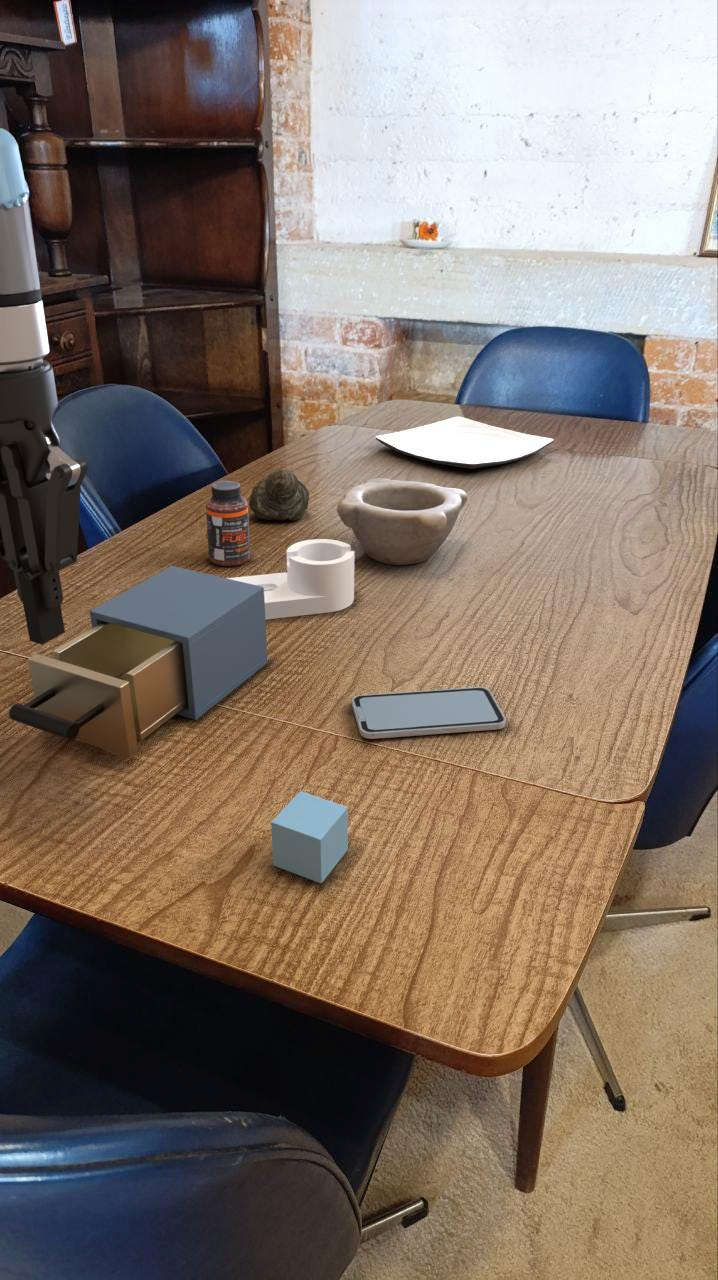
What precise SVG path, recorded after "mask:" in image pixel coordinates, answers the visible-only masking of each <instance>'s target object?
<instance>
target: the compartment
mask: <svg viewBox="0 0 718 1280" xmlns="http://www.w3.org/2000/svg"><path fill="white" fill-rule="evenodd" d="M227 578H228V577H223V576H218V575H213V574H209V573H205V572H201V571H196V570H191V569H187V568H183V567H179V566H175V565H171V566H169V567H167V568H165V569H164V570H161V571H159V572H158V573H156V574H154V575H152V576H151V577H149V578H147V579H145V580H143V581H142V582H139V583H137V584H136V585H134V586H132V587H131V588H129V589H127V590H125V591H124V592H122V593H120V594H118V595H117V596H114V597H112V598H111V599H109V600H107V601H105V602H104V603H102V604H100V605H98V606H96V607H94V608H93V609H91V610H90V611H89V617H90V623H91V629H92V628H94V627H95V626H97V625H99V624H100V623H102V622H104V621H105V622H108V623H112V624H115V625H119V626H123V627H126V628H130V629H134V630H137V631H141V632H145V633H148V634H152V635H156V636H159V637H163V638H166V639H170V640H174V641H177V642H181V643H183V653H184V663H185V674H186V684H187V694H188V705H187V706H186V707H184V708H183V709H182V710H180V711H179V712H178V713H176V714H175V715H178V716H181V717H185V718H188V719H191V720H193V721H197V720H198V719H199V718H201V717H202V716H203V715H205V714H206V713H207V712H208V711H210V710H211V709H212V708H213V707H214V706H216V705H217V704H218V703H220V702H221V701H222V700H223V699H225V698H226V697H227V696H228V695H230V694H231V693H232V692H234V691H235V690H236V689H237V688H238V687H240V686H241V685H242V684H243V683H244V682H246V681H247V680H248V679H249V678H251V677H252V676H253V675H255V674H256V673H257V672H259V670H261V669H262V668H263V667H264V666H266V665H267V664H268V645H267V644H268V643H267V626H266V625H267V623H266V620H265V601H264V587H261V586H257V585H253V584H248V583H244V582H240V581H236V580H231V579H227Z"/></svg>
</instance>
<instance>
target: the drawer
mask: <svg viewBox="0 0 718 1280" xmlns="http://www.w3.org/2000/svg"><path fill="white" fill-rule="evenodd" d="M52 655H53V657H49V656H46V655H43V654H39V653H35V654H33V655H32V656H29V657H28V658H27V663H28V668H29V673H30V679H31V683H32V689H33V694H34V698H32V699H31V700H29V701H28V702H27V703H25V704H22V703H18V702H17V703H14V704H13V705H12V706H11V707H10V708H9V711H8V717H9V719H10V720H11V721H14V722H17V723H20V724H23V725H25V726H29V727H32V728H34V729H36V730H39V731H43V732H45V733H48V734H50V735H54V736H57V737H59V738H63V739H65V740H68V741H74V740H77V741H80V742H83V743H85V744H88V745H92V746H94V747H98V748H100V749H103V750H106V751H109V752H110V753H114V754H117V755H120V756H123V757H125V758H128V759H131V758H133V757H134V756H135V755H137V754H138V753H139V747H138V740H139V741H143V740H144V739H145V738H146V737H148V736H149V735H150V734H152V733H153V732H154V731H156V730H157V729H158V728H160V727H161V726H162V725H164V724H165V723H166V722H167V721H169V720H170V719H171V718H173V717H174V716H175V715H177V714H176V713H178V712H179V711H180V710H182V709H183V708H184V707H186V706H187V705H188V694H187V684H186V674H185V663H184V653H183V643H181V642H177V641H174V640H170V639H166V638H163V637H159V636H156V635H152V634H148V633H145V632H141V631H137V630H134V629H130V628H126V627H123V626H119V625H115V624H112V623H108V622H105V621H104V622H102V623H100V624H99V625H97V626H95V627H94V628H92V627H91V628H89V629H88V630H86V631H85V632H83V633H82V634H80V635H78V636H76V637H75V638H73V639H71V640H69V641H68V642H66V643H64V644H62V645H60V646H59V647H57V648H55V649H53V650H52Z"/></svg>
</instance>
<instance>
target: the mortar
mask: <svg viewBox="0 0 718 1280" xmlns="http://www.w3.org/2000/svg"><path fill="white" fill-rule="evenodd" d="M468 498H469V497H468V494H467V493H466V492H465V490H463V489H460V488H455V487H447V486H446V487H445V486H440V485H437V484H432V483H427V482H421V481H414V480H413V481H411V480H396V479H395V480H393V479H389V478H383V477H380V478H379V477H377V478H376V477H375V478H370V479H367V480H365V481H364V483H361V484H358V485H355V486H353V487H351V488H350V489H349V490H348V491H346V493H344V495H343V498H342V499H341V500H340V501H339V502H338V503H337V506H336V512H337V514H338V517H339V518H340V520H341V522H342V523H343V524H344V526H346V527H347V528H349V529H351V530H352V533H353V534H354V536H355V538H356V539H357V541H358V543H359V545H360V547H361V548H362V550H363V551H364V552H365V554H366V555H367V556H368V557H369V558H371V559H373V560H374V561H377V562H379V563H383V564H387V565H391V566H408V565H409V566H410V565H414V564H419V563H422V562H424V561H426V560H428V559H430V558H431V557H432V556H434V555H435V553H436V552H437V551H438V550H439V549H440V548H441V547H442V545H443V544H444V543H445V541H446V540H447V538H448V537H449V535H450V534H451V532H452V531H453V529H454V527H455V525H456V522H457V520H458V518H459V515H460V512H461V510H462V509H463V508H464V506H465V505H466V503H467V502H468Z"/></svg>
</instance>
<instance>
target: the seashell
mask: <svg viewBox="0 0 718 1280" xmlns="http://www.w3.org/2000/svg"><path fill="white" fill-rule="evenodd" d="M309 500H310V491H309V489H308V488H307V486H306V484H305V483H303V482H302V480H299V479H298V477H297V476H296V474H295V473H293V472H292V471H291V470H287V469H278V470H276V471H273V472H271V473H270V474H269V475H267V477H266V479H265V478H264V479H263V480H260V481H258V482H257V484H256V485H255V486H253V487H252V490H251V494H250V498H249V502H248V507H249V509H250V510H251V511H252V512H253V514H255V515H256V517H257V518H259V519H260V520H266V521H267V520H270V521H271V520H277V521H284V520H289V521H291V522H294V521H298V520H301V519H302V518H303V517H304V516H305V513H306V511H307V510H308V507H309V503H310V501H309Z"/></svg>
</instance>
